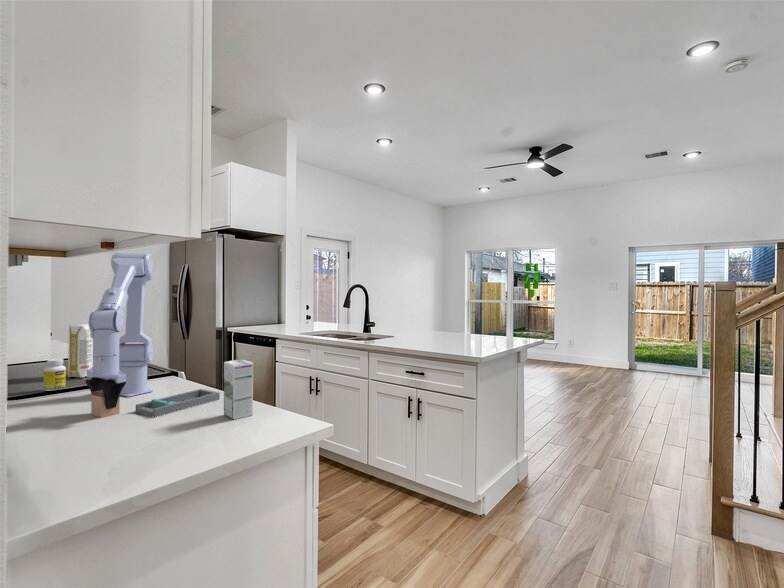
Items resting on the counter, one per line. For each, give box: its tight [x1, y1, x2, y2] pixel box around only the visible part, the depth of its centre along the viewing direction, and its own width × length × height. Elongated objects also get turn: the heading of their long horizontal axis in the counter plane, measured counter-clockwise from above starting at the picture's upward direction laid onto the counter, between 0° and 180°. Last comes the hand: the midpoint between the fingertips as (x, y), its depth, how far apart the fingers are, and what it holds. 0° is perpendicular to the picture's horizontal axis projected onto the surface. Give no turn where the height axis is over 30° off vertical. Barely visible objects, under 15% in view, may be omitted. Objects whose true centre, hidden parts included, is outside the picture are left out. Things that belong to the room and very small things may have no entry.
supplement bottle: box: [43, 358, 67, 389], centre depth 128 cm, size 5×5×10 cm
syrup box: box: [223, 359, 254, 420], centre depth 108 cm, size 6×6×14 cm
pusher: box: [151, 398, 178, 409], centre depth 112 cm, size 6×5×2 cm
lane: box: [135, 388, 221, 418], centre depth 116 cm, size 8×20×2 cm, turn 153°
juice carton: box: [67, 323, 93, 377], centre depth 148 cm, size 8×9×19 cm
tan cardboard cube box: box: [90, 390, 121, 418], centre depth 106 cm, size 4×4×6 cm
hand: (105, 406), depth 106 cm, fingers closed on tan cardboard cube box, 4 cm apart
